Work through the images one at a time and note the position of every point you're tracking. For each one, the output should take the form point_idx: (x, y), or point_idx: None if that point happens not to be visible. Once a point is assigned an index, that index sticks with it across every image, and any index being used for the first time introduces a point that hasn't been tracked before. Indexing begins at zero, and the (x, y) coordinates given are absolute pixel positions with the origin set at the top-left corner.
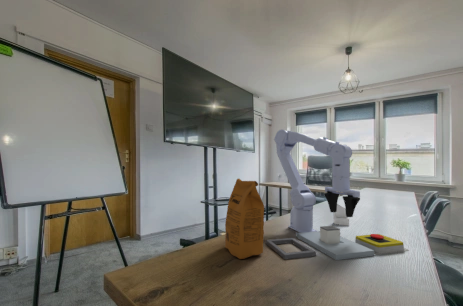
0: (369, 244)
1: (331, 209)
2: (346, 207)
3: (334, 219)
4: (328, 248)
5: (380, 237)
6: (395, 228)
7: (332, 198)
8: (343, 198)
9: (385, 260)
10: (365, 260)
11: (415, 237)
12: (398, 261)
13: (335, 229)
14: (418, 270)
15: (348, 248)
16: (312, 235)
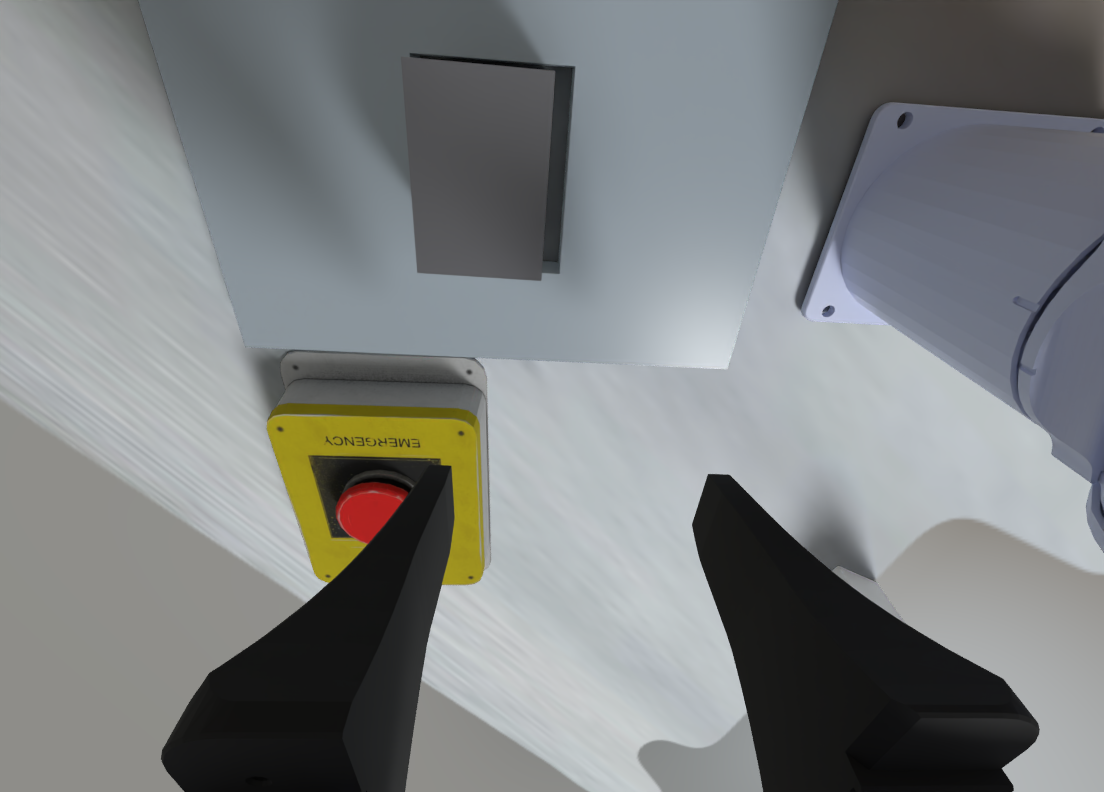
0: (343, 403)
1: (721, 499)
2: (390, 550)
3: (877, 601)
4: None
5: (338, 510)
6: (620, 731)
7: (792, 677)
8: (347, 683)
9: (183, 331)
10: (166, 187)
11: (492, 704)
12: (175, 391)
13: (412, 205)
14: (51, 381)
15: (285, 176)
16: (690, 95)
